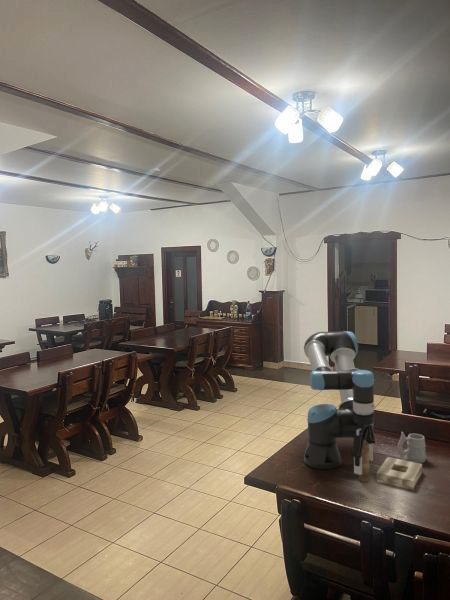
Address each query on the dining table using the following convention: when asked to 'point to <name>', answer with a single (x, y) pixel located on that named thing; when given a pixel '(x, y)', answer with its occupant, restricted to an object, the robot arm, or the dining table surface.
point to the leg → (365, 464)
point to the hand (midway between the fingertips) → (363, 466)
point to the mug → (413, 447)
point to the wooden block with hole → (399, 473)
